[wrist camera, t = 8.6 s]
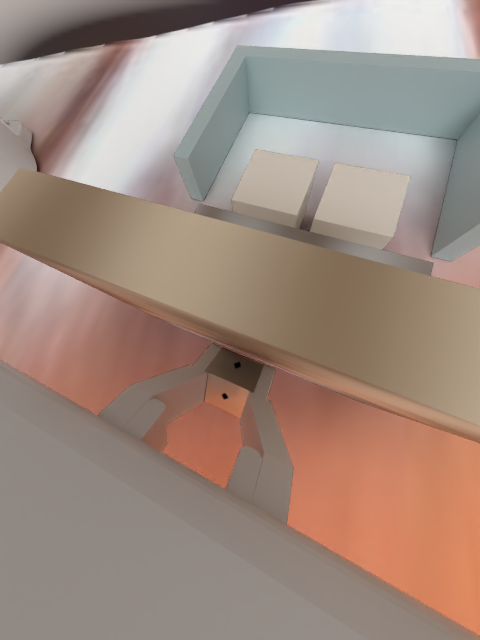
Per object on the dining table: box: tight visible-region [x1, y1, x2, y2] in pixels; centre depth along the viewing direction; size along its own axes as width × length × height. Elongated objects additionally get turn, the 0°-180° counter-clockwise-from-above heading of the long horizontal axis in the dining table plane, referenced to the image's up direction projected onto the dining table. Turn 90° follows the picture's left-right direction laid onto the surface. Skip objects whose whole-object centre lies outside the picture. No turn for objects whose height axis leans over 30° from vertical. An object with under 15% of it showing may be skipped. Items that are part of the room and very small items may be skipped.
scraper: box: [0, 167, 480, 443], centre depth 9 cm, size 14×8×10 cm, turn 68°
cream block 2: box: [310, 163, 411, 250], centre depth 12 cm, size 4×4×4 cm
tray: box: [173, 45, 480, 261], centre depth 14 cm, size 20×12×4 cm, turn 68°
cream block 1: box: [231, 149, 319, 229], centre depth 13 cm, size 4×4×4 cm
